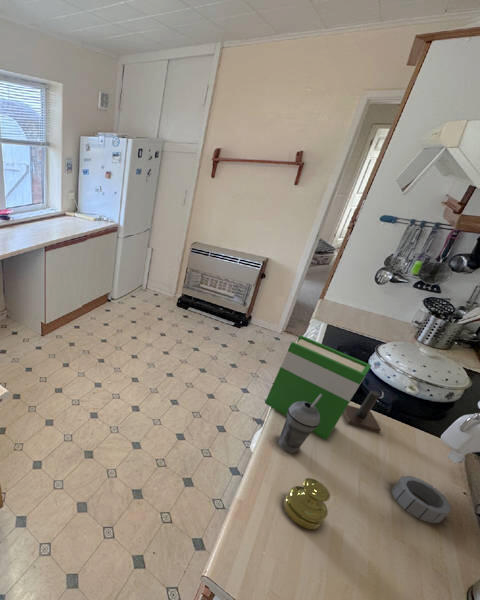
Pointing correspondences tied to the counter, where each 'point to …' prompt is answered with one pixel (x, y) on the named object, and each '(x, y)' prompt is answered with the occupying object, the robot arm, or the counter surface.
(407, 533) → the counter surface
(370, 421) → the peg stand
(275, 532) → the counter surface
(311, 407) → the beverage cup
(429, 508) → the grey faceted ring
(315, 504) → the brass knobbed weight
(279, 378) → the hardback book
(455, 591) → the counter surface
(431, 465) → the counter surface
